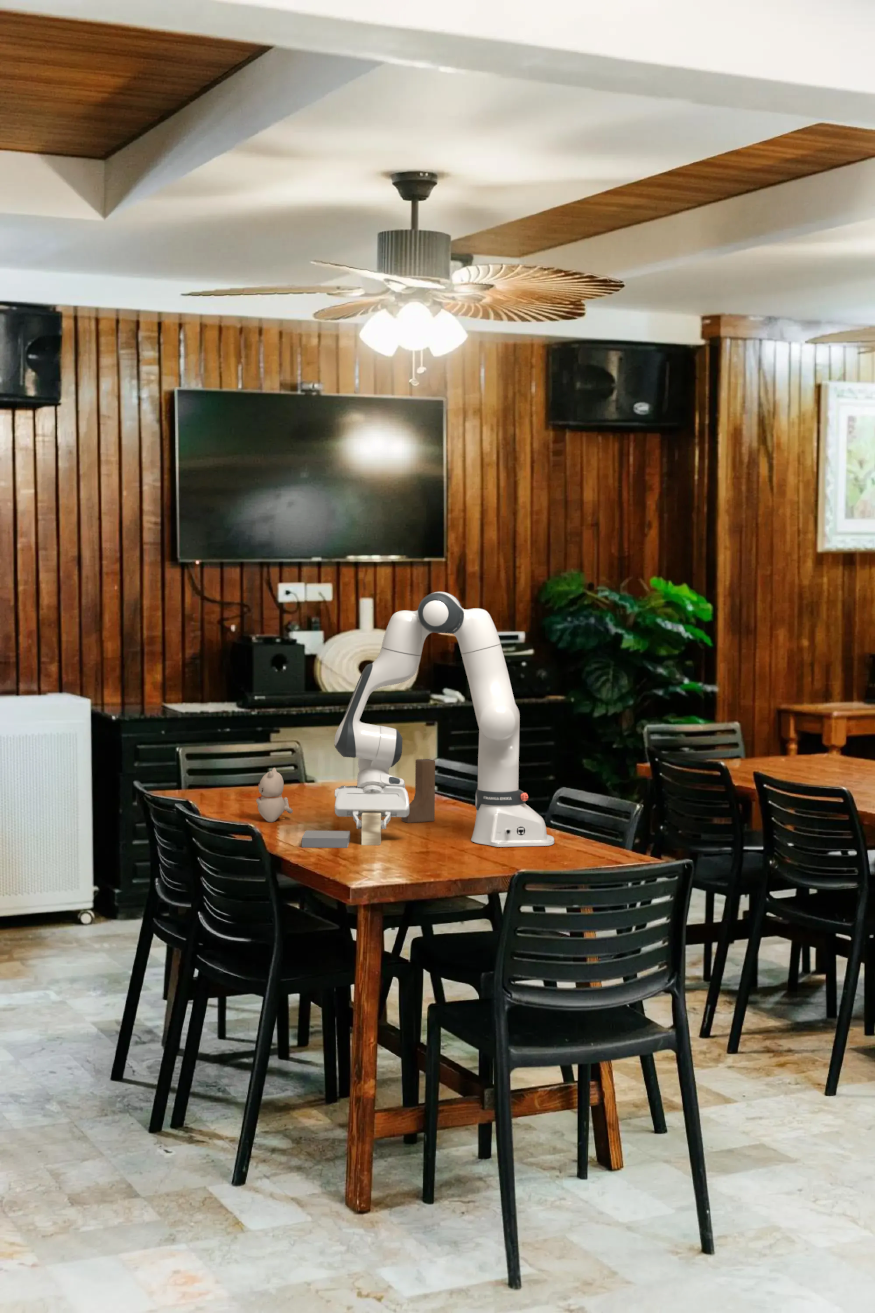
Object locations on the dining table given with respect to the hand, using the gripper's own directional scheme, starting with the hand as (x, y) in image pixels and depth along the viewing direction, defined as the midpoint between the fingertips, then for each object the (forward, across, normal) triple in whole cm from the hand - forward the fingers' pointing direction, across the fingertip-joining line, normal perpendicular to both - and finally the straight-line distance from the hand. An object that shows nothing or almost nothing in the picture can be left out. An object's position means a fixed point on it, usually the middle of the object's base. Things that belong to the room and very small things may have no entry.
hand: (371, 827), depth 410 cm
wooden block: (-25, +12, +31) cm, 42 cm away
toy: (-25, -30, +31) cm, 50 cm away
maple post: (+3, 0, +4) cm, 4 cm away
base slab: (+3, -12, +3) cm, 13 cm away
